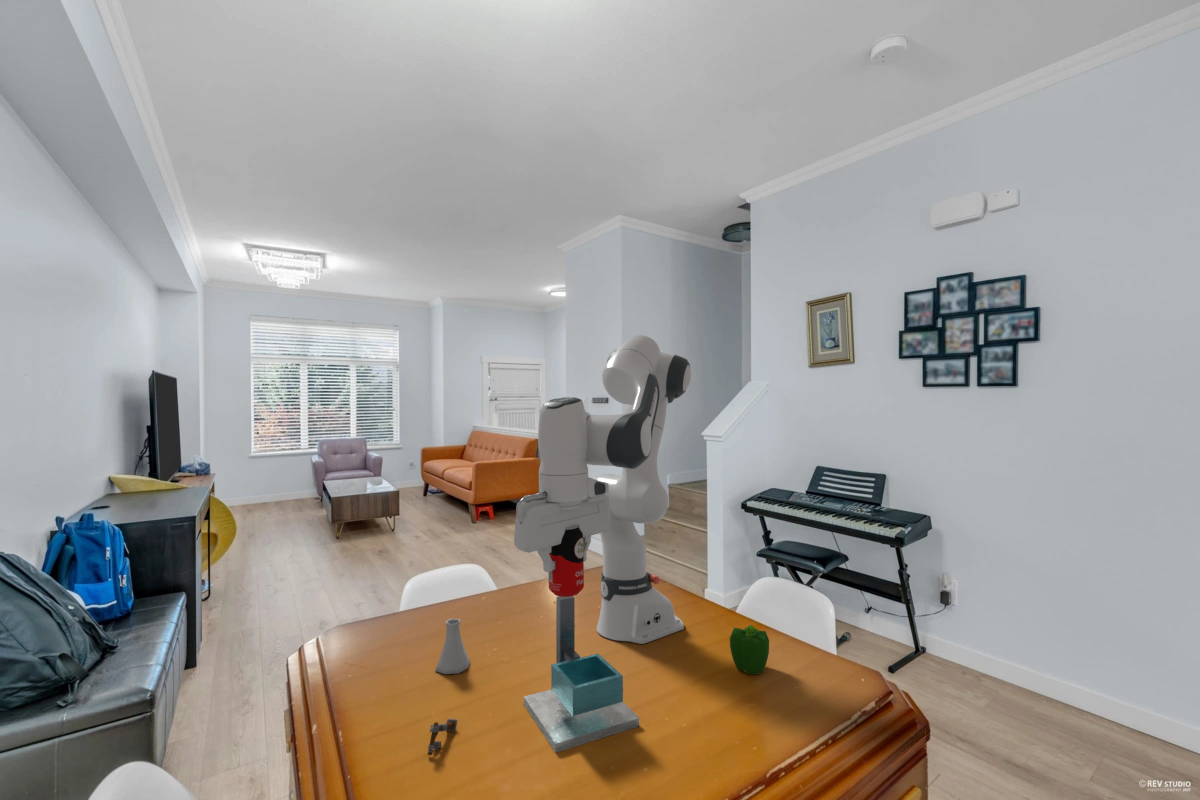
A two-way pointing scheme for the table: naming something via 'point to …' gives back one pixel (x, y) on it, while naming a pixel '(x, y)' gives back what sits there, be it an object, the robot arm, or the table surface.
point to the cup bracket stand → (579, 692)
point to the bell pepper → (749, 649)
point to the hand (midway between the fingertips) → (565, 566)
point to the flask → (453, 651)
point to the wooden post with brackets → (437, 727)
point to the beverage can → (568, 564)
